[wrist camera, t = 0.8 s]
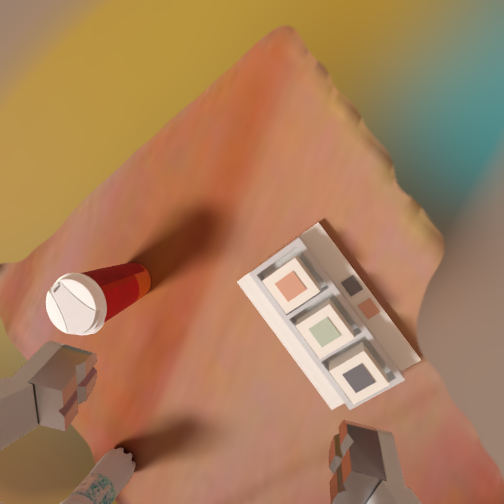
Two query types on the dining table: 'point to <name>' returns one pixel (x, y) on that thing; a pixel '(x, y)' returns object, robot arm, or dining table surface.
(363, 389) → the charcoal key
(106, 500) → the bottle
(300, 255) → the keypad base
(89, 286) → the coffee cup
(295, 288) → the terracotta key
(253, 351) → the dining table surface
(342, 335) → the sage key
